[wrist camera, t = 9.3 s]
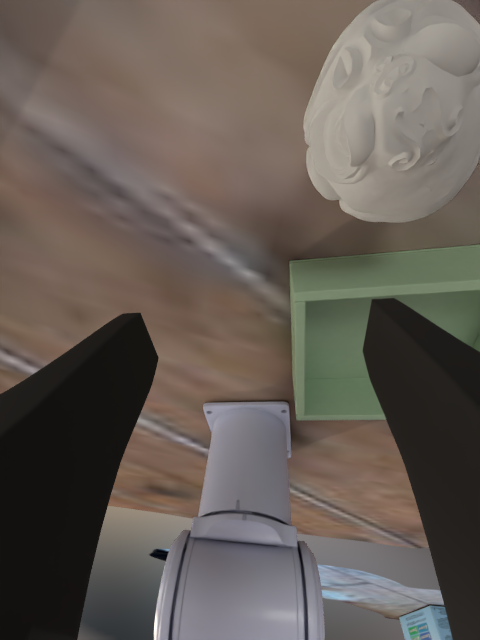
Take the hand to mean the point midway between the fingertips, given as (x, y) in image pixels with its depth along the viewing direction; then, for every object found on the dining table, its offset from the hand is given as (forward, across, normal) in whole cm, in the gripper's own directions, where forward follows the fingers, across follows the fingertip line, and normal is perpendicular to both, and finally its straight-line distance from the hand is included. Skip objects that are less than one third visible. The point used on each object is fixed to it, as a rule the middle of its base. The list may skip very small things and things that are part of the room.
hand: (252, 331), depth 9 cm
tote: (+9, -8, +8) cm, 15 cm away
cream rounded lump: (+10, -5, -4) cm, 12 cm away
